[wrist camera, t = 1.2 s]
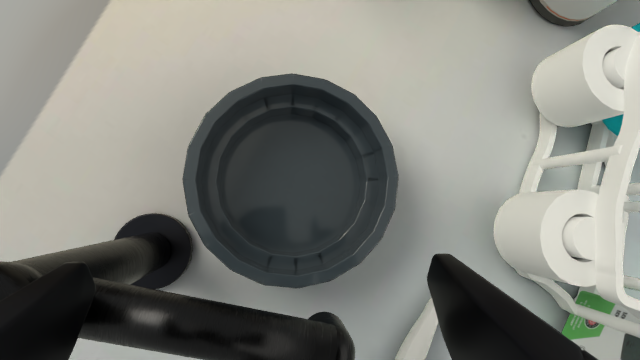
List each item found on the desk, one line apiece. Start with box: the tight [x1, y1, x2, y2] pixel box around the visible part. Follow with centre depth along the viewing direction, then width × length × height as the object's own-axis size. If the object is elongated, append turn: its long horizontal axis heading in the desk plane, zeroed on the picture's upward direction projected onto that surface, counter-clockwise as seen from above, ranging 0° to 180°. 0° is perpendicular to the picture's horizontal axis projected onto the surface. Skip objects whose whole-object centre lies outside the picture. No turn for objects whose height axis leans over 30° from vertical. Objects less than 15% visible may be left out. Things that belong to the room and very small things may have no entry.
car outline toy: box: [493, 24, 640, 338], centre depth 22 cm, size 20×11×7 cm, turn 161°
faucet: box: [0, 233, 355, 360], centre depth 15 cm, size 12×3×13 cm, turn 77°
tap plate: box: [114, 213, 193, 289], centre depth 21 cm, size 5×5×1 cm
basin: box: [183, 74, 398, 288], centre depth 21 cm, size 12×12×4 cm
